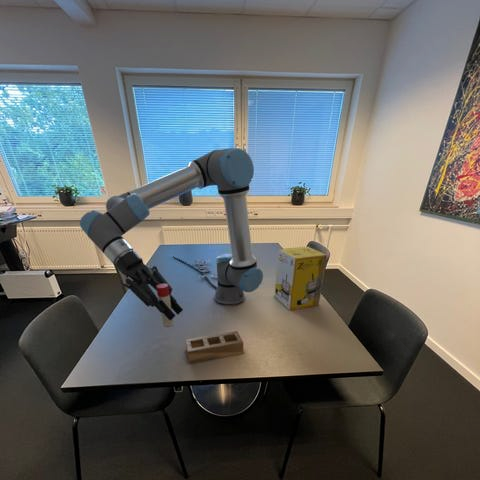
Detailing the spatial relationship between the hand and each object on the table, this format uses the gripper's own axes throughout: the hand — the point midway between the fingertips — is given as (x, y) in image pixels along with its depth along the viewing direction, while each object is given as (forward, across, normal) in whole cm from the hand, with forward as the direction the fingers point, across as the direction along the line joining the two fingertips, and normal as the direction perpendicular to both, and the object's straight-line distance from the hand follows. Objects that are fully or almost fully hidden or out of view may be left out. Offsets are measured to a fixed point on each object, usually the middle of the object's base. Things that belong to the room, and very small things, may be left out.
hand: (176, 315), depth 82 cm
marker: (0, 0, +6) cm, 6 cm away
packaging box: (+32, +63, -6) cm, 70 cm away
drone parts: (-11, +87, +37) cm, 96 cm away
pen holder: (+19, +8, +7) cm, 21 cm away
